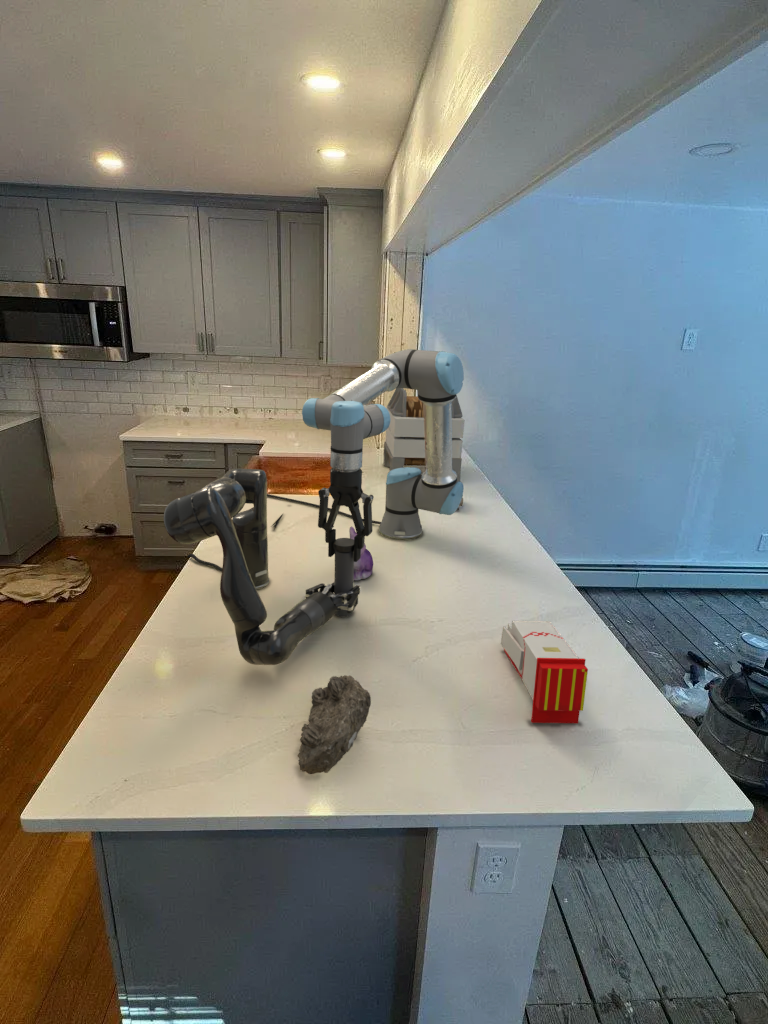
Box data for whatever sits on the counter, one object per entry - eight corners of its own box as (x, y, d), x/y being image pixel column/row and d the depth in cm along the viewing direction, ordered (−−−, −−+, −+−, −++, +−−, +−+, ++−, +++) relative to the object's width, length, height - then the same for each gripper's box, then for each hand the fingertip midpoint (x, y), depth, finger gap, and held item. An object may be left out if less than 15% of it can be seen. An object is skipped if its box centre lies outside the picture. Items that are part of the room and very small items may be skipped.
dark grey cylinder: (333, 616, 145) (334, 547, 138) (334, 607, 149) (335, 540, 143) (351, 617, 145) (353, 548, 138) (353, 608, 149) (354, 540, 143)
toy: (547, 606, 135) (596, 665, 106) (541, 658, 138) (589, 729, 108) (496, 604, 134) (532, 664, 105) (492, 657, 137) (526, 729, 108)
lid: (360, 549, 140) (360, 543, 140) (341, 554, 137) (341, 548, 137) (347, 541, 145) (347, 536, 144) (328, 546, 141) (328, 540, 141)
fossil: (305, 676, 114) (363, 644, 109) (335, 707, 117) (393, 676, 112) (276, 768, 94) (345, 733, 89) (313, 802, 97) (382, 770, 92)
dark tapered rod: (290, 508, 223) (292, 504, 223) (272, 532, 197) (275, 527, 196) (286, 505, 223) (289, 501, 223) (268, 529, 197) (271, 525, 196)
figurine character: (463, 515, 225) (458, 499, 238) (465, 497, 221) (460, 482, 235) (446, 514, 224) (442, 498, 238) (448, 497, 221) (444, 482, 235)
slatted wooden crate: (382, 463, 289) (386, 382, 275) (445, 464, 293) (451, 384, 279) (390, 482, 257) (394, 392, 243) (460, 483, 261) (468, 394, 247)
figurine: (351, 584, 162) (352, 535, 157) (337, 569, 170) (338, 523, 165) (380, 578, 166) (383, 531, 161) (365, 564, 174) (367, 519, 169)
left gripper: (337, 608, 129) (373, 579, 143) (286, 592, 135) (326, 566, 149) (336, 636, 131) (372, 606, 145) (286, 619, 137) (326, 591, 152)
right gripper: (389, 469, 134) (385, 558, 142) (316, 459, 140) (316, 545, 148) (378, 477, 128) (374, 570, 135) (302, 466, 134) (303, 556, 141)
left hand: (348, 586), depth 147 cm, fingers closed on dark grey cylinder, 5 cm apart
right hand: (344, 557), depth 142 cm, fingers open, 6 cm apart
